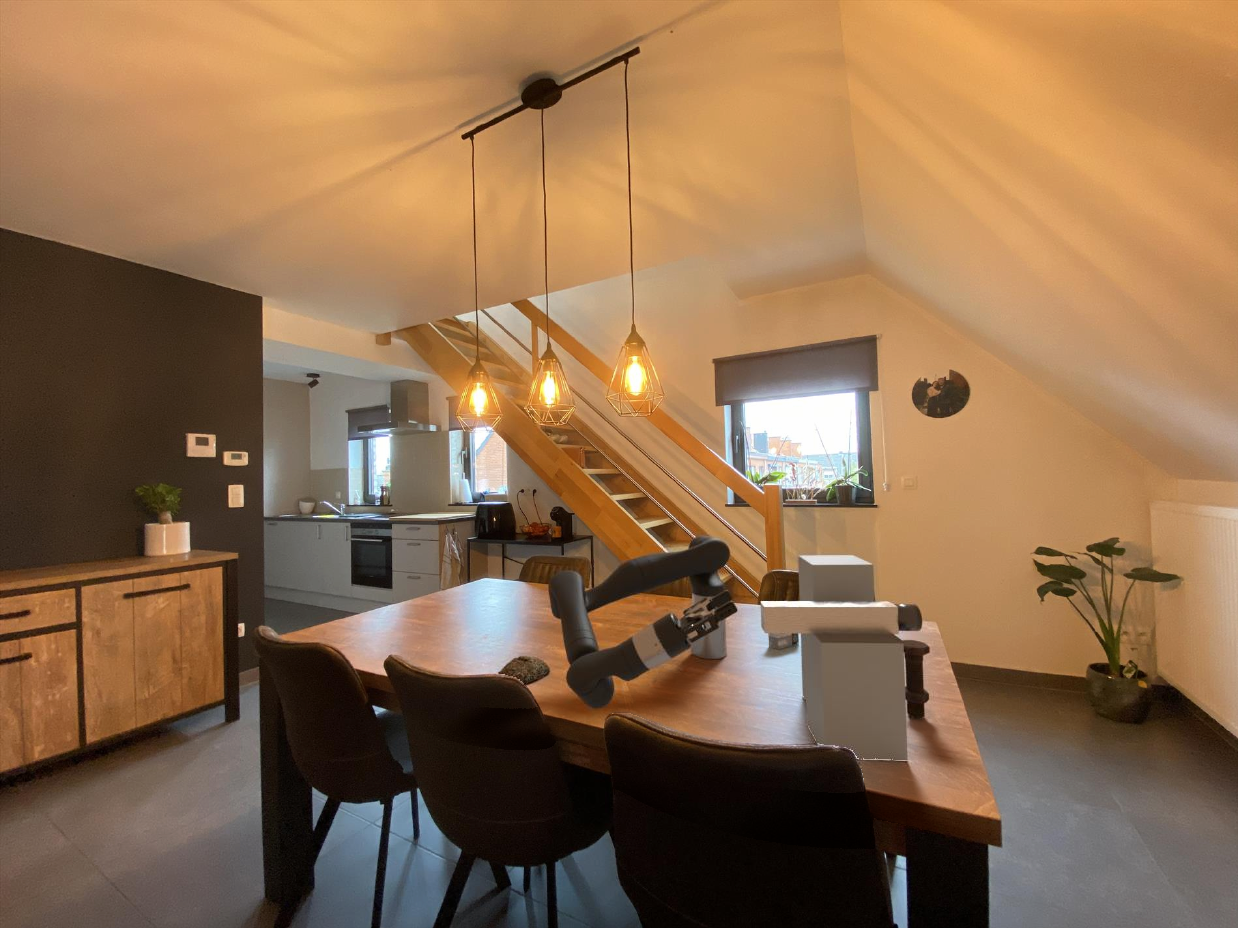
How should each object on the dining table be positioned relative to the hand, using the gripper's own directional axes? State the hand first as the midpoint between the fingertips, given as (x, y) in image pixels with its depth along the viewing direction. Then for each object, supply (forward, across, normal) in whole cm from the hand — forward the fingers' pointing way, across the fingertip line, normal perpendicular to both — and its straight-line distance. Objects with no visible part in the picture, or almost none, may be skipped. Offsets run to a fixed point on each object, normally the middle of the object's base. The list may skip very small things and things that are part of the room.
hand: (732, 599), depth 99 cm
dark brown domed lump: (-58, +30, -2) cm, 65 cm away
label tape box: (+4, +55, +34) cm, 65 cm away
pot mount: (+6, +7, +34) cm, 35 cm away
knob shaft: (+14, 0, +15) cm, 20 cm away
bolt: (+19, +11, +42) cm, 48 cm away
